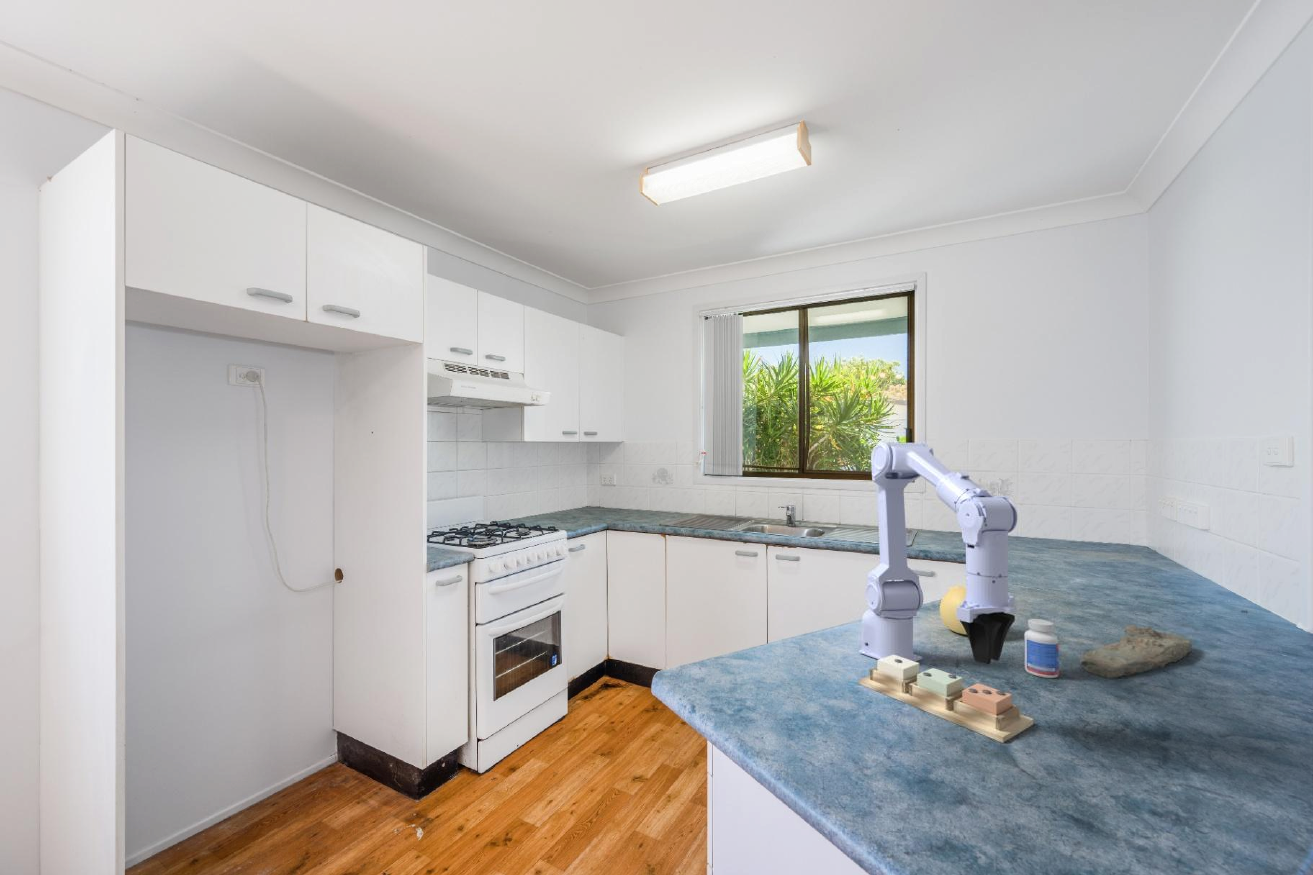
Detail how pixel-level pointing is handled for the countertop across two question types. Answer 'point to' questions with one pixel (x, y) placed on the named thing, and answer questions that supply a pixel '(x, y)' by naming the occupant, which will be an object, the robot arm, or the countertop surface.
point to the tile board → (949, 706)
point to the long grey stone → (1136, 653)
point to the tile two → (939, 682)
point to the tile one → (898, 667)
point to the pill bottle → (1041, 649)
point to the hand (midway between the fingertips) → (986, 660)
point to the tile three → (987, 699)
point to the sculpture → (952, 608)
